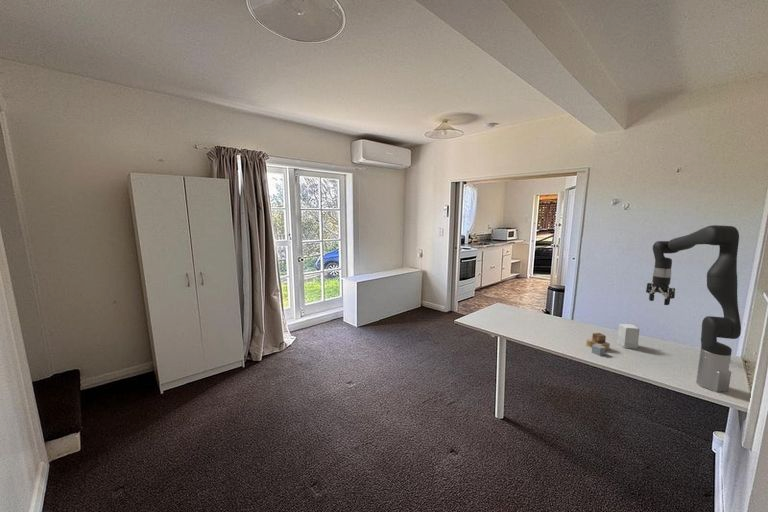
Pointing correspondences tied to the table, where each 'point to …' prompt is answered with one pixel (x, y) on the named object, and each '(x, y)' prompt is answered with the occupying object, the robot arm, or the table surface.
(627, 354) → the table surface
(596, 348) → the grey painted cube
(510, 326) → the table surface
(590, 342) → the oak base block
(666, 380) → the table surface
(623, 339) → the supplement box
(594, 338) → the walnut cube
